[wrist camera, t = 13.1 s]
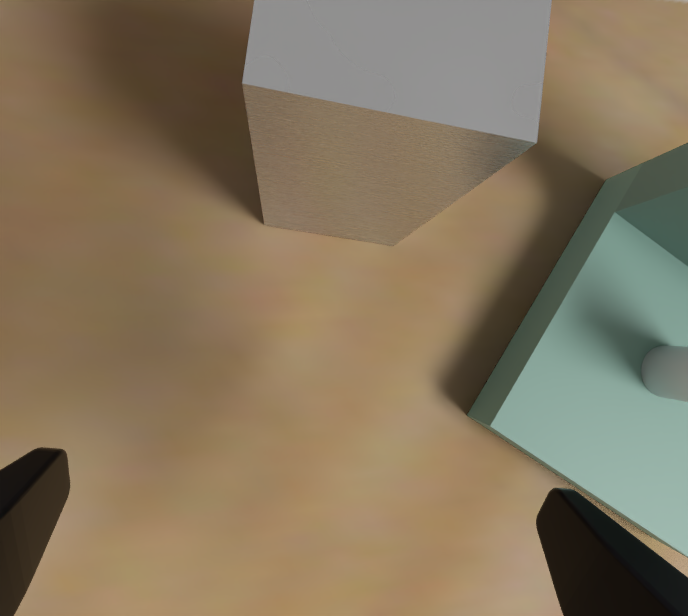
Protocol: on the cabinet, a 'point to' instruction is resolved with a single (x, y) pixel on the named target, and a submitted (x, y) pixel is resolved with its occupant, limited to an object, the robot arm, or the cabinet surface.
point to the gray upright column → (387, 107)
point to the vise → (610, 355)
